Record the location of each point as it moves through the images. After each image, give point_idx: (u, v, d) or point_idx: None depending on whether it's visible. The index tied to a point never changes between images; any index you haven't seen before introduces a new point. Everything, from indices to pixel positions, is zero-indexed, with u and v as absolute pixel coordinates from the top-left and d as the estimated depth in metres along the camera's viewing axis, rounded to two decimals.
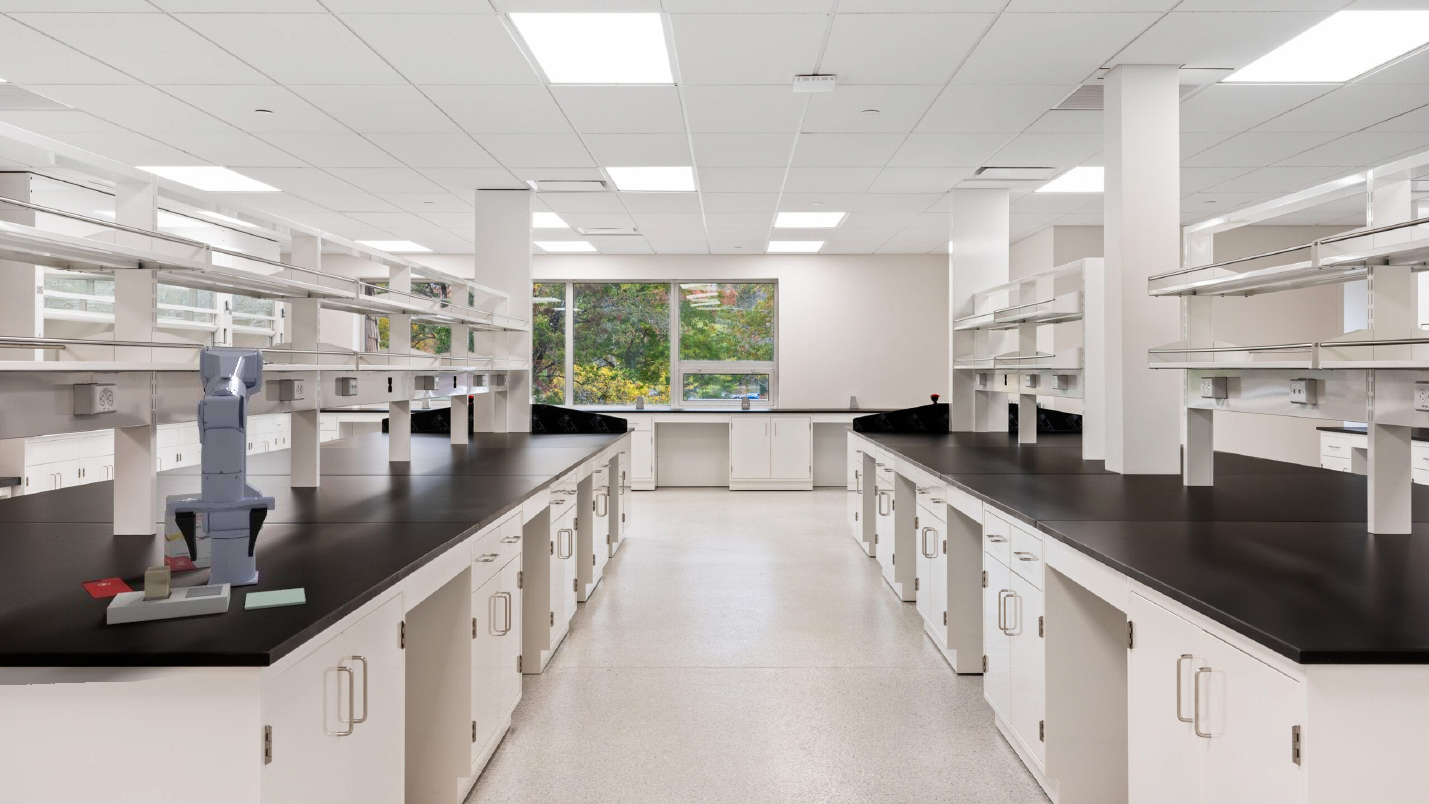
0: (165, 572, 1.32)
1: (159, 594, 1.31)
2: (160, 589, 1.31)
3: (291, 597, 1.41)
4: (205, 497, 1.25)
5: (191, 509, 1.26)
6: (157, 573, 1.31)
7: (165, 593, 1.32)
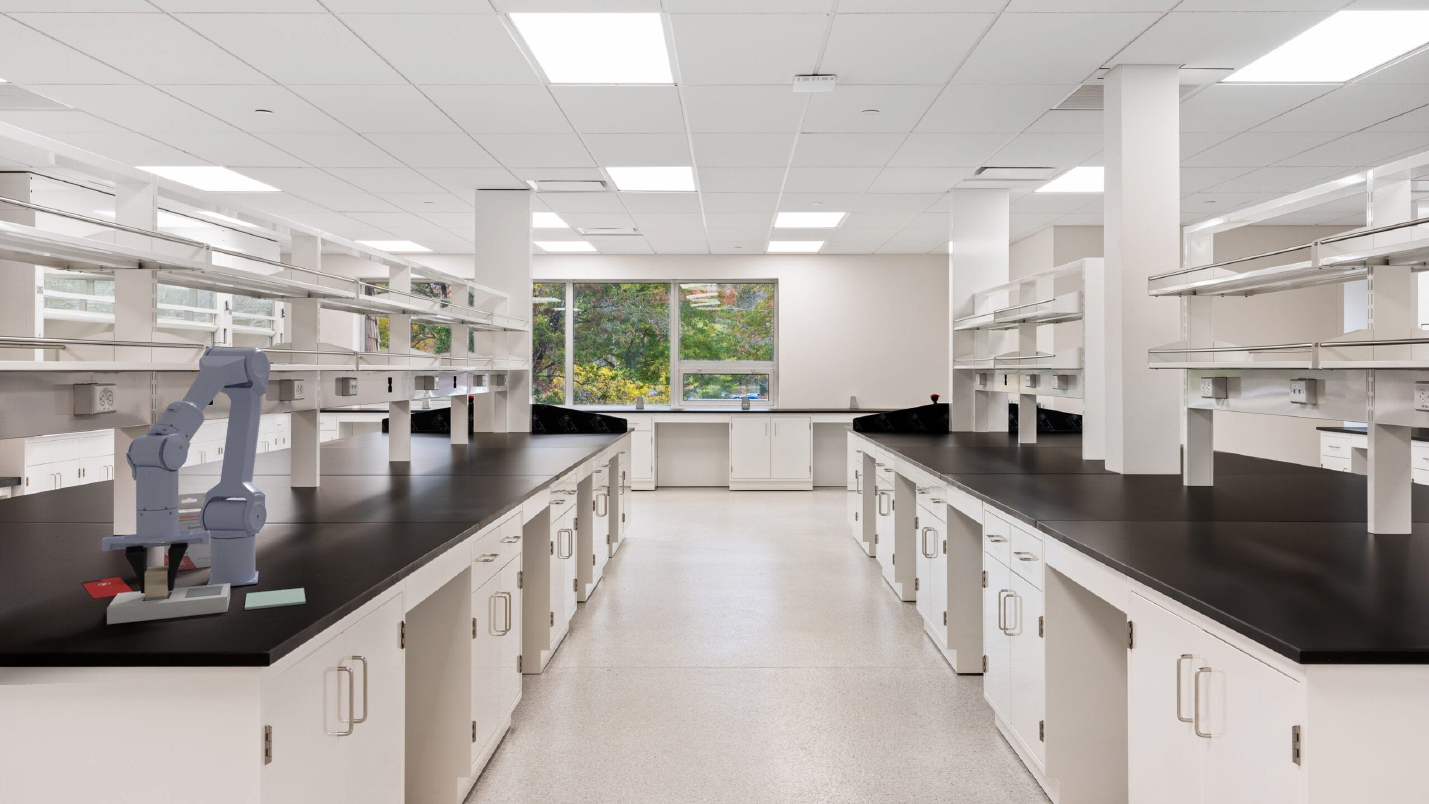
0: (165, 572, 1.32)
1: (159, 594, 1.31)
2: (160, 588, 1.31)
3: (291, 597, 1.41)
4: (139, 533, 1.30)
5: (126, 544, 1.31)
6: (157, 573, 1.31)
7: (165, 593, 1.32)
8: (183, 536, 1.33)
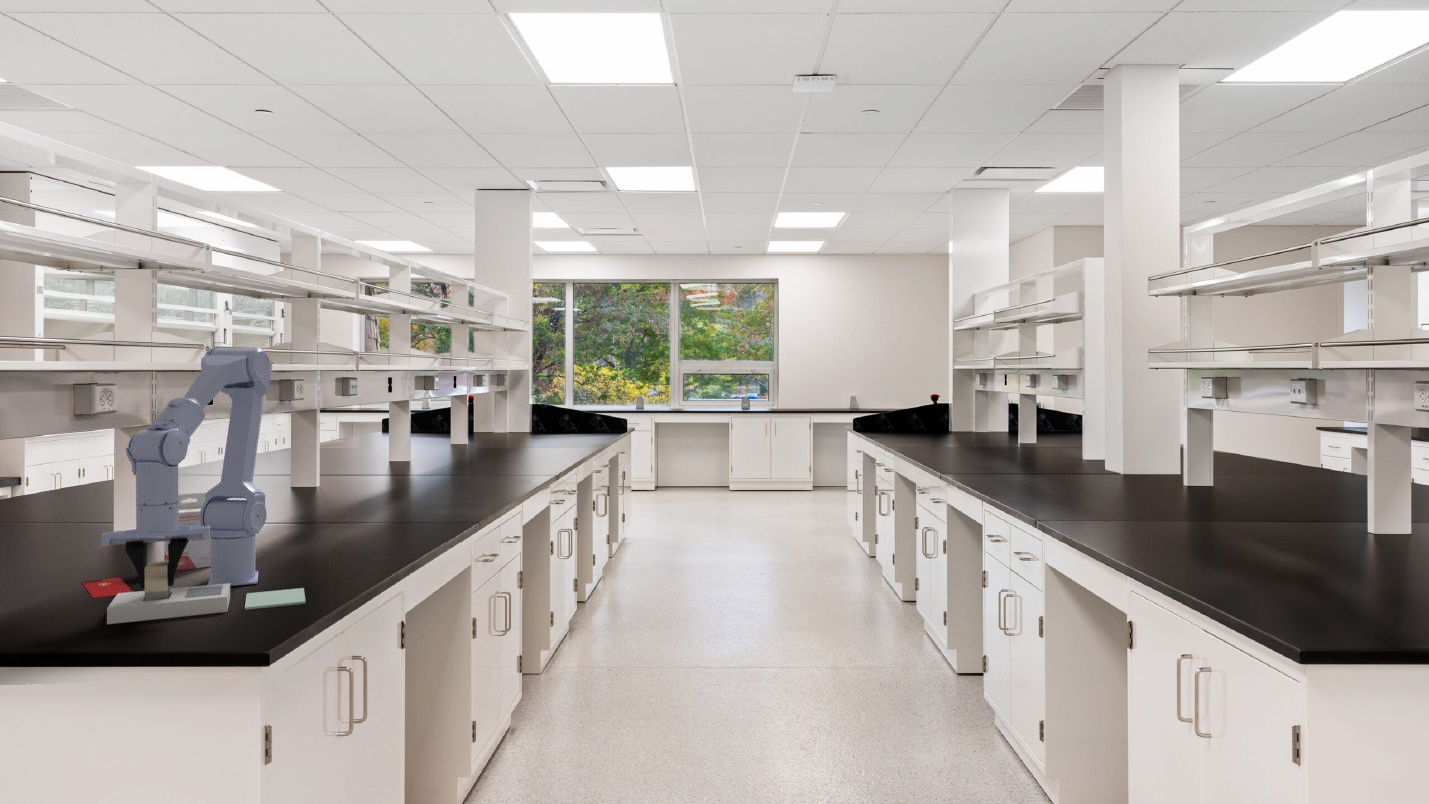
0: (165, 567, 1.31)
1: (159, 589, 1.31)
2: (160, 584, 1.31)
3: (291, 597, 1.41)
4: (139, 528, 1.30)
5: (126, 539, 1.31)
6: (157, 568, 1.31)
7: (165, 588, 1.32)
8: (183, 531, 1.33)
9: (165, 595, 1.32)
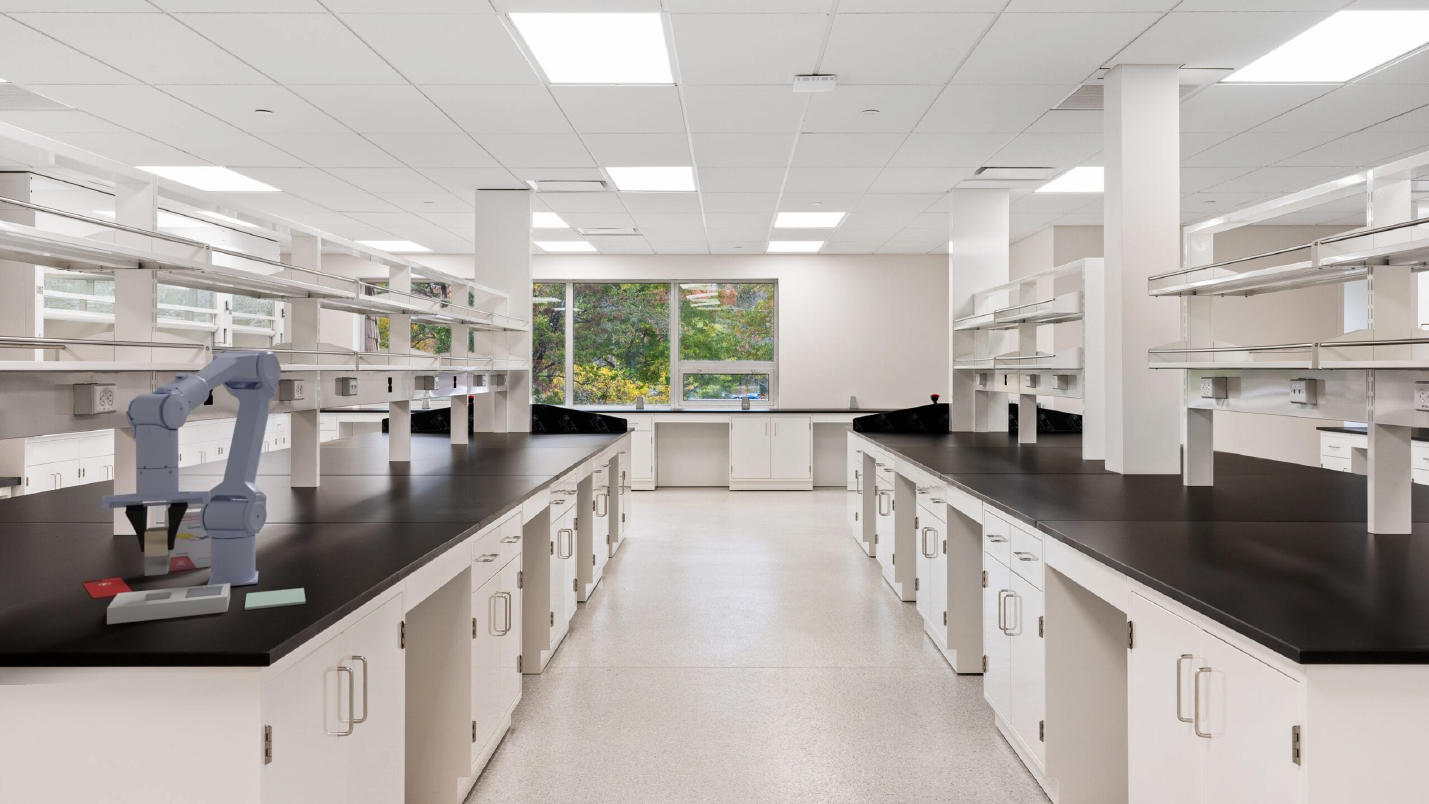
0: (165, 532, 1.31)
1: (159, 554, 1.31)
2: (160, 548, 1.31)
3: (291, 597, 1.41)
4: (139, 491, 1.30)
5: (126, 503, 1.31)
6: (157, 533, 1.31)
7: (165, 553, 1.31)
8: (183, 495, 1.33)
9: (165, 560, 1.31)
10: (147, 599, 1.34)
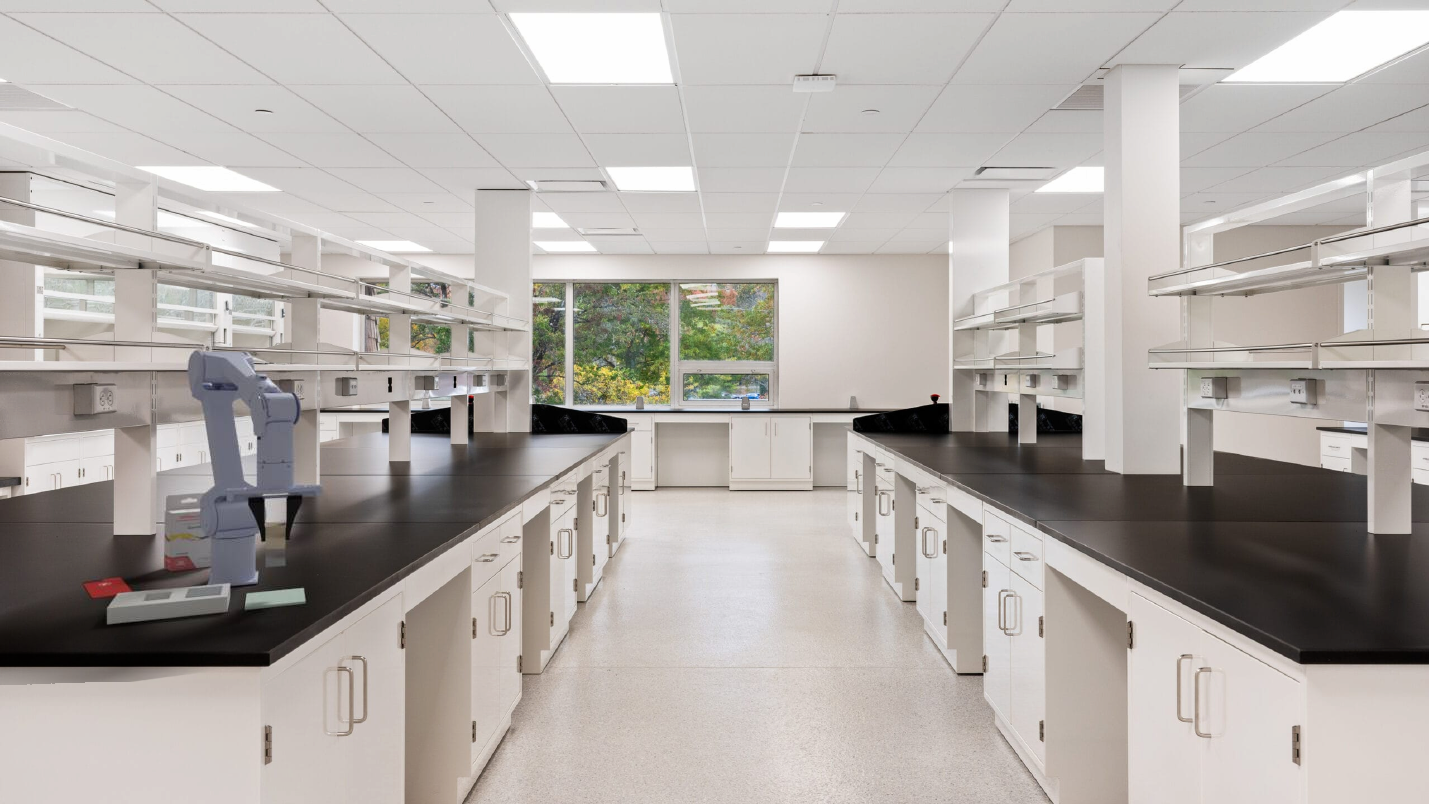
0: (284, 526, 1.40)
1: (278, 547, 1.40)
2: (279, 541, 1.40)
3: (291, 597, 1.41)
4: (260, 484, 1.38)
5: (248, 495, 1.39)
6: (276, 527, 1.39)
7: (283, 546, 1.40)
8: (299, 488, 1.41)
9: (283, 552, 1.40)
10: (147, 599, 1.34)
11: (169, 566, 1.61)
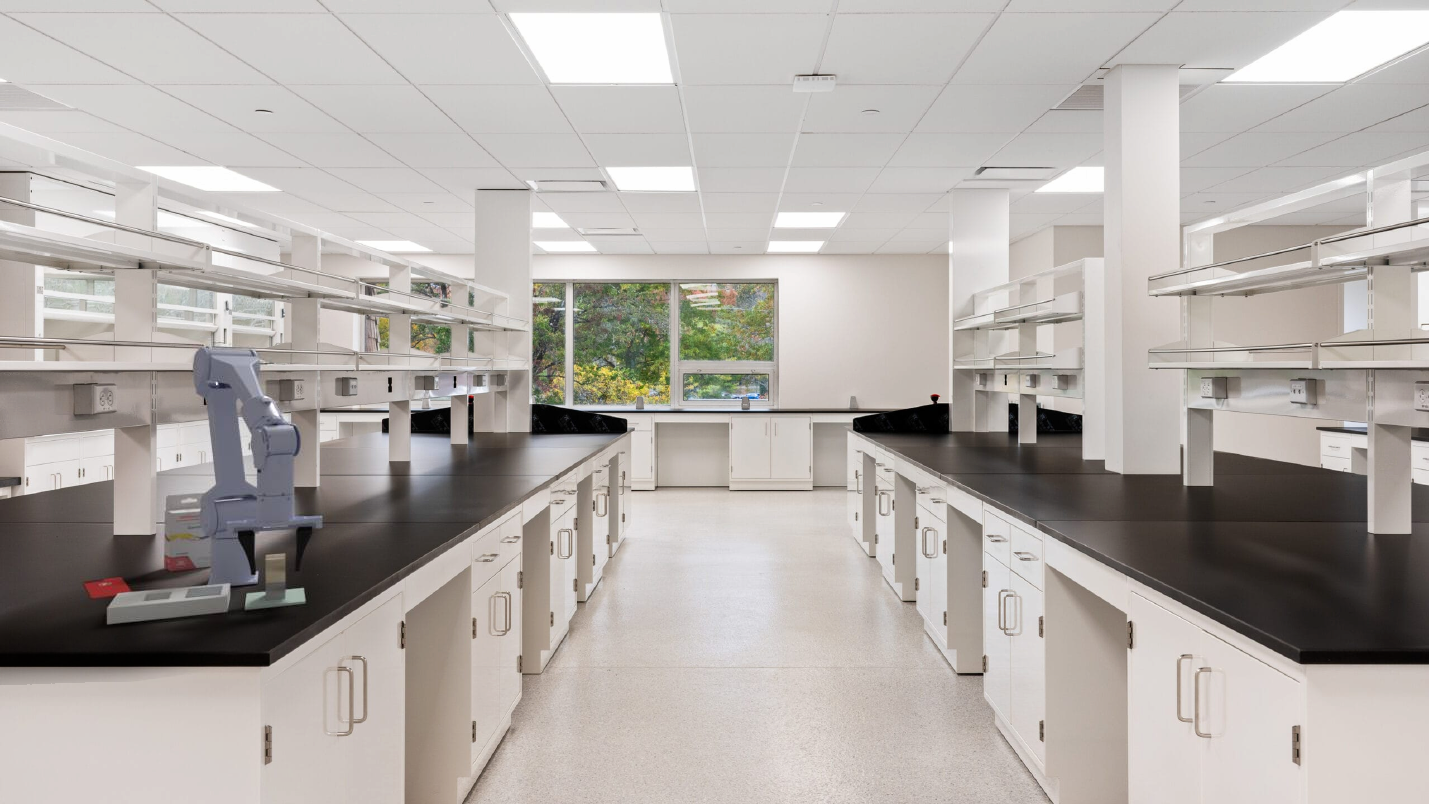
0: (284, 559, 1.40)
1: (278, 580, 1.40)
2: (279, 575, 1.40)
3: (291, 597, 1.41)
4: (261, 517, 1.38)
5: (248, 528, 1.39)
6: (277, 560, 1.40)
7: (284, 579, 1.40)
8: (300, 520, 1.41)
9: (284, 585, 1.40)
10: (147, 599, 1.34)
11: (169, 566, 1.61)
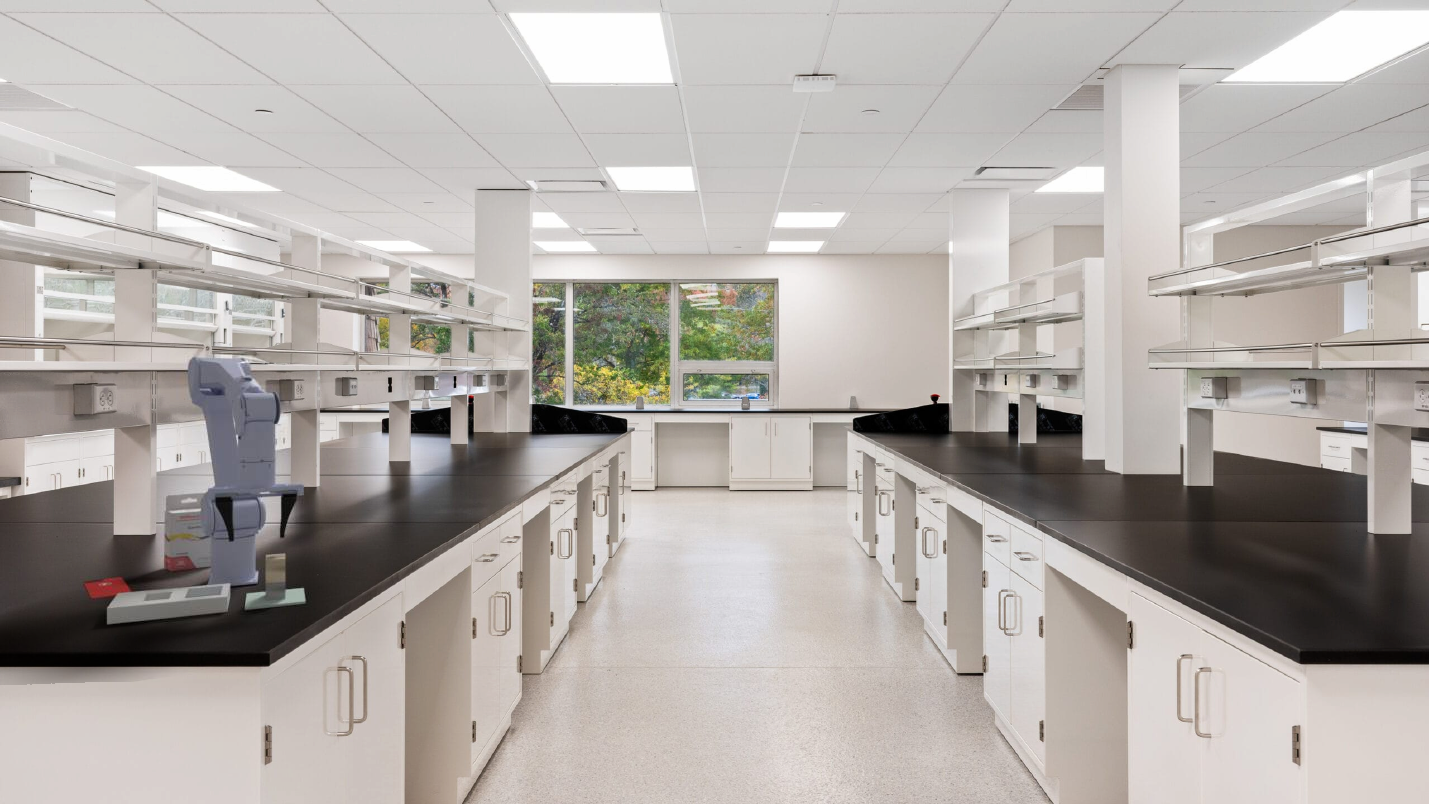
0: (284, 559, 1.40)
1: (278, 580, 1.40)
2: (279, 575, 1.40)
3: (291, 597, 1.41)
4: (242, 483, 1.39)
5: (229, 494, 1.40)
6: (277, 560, 1.40)
7: (284, 579, 1.40)
8: (281, 487, 1.42)
9: (284, 585, 1.40)
10: (147, 599, 1.34)
11: (169, 566, 1.61)
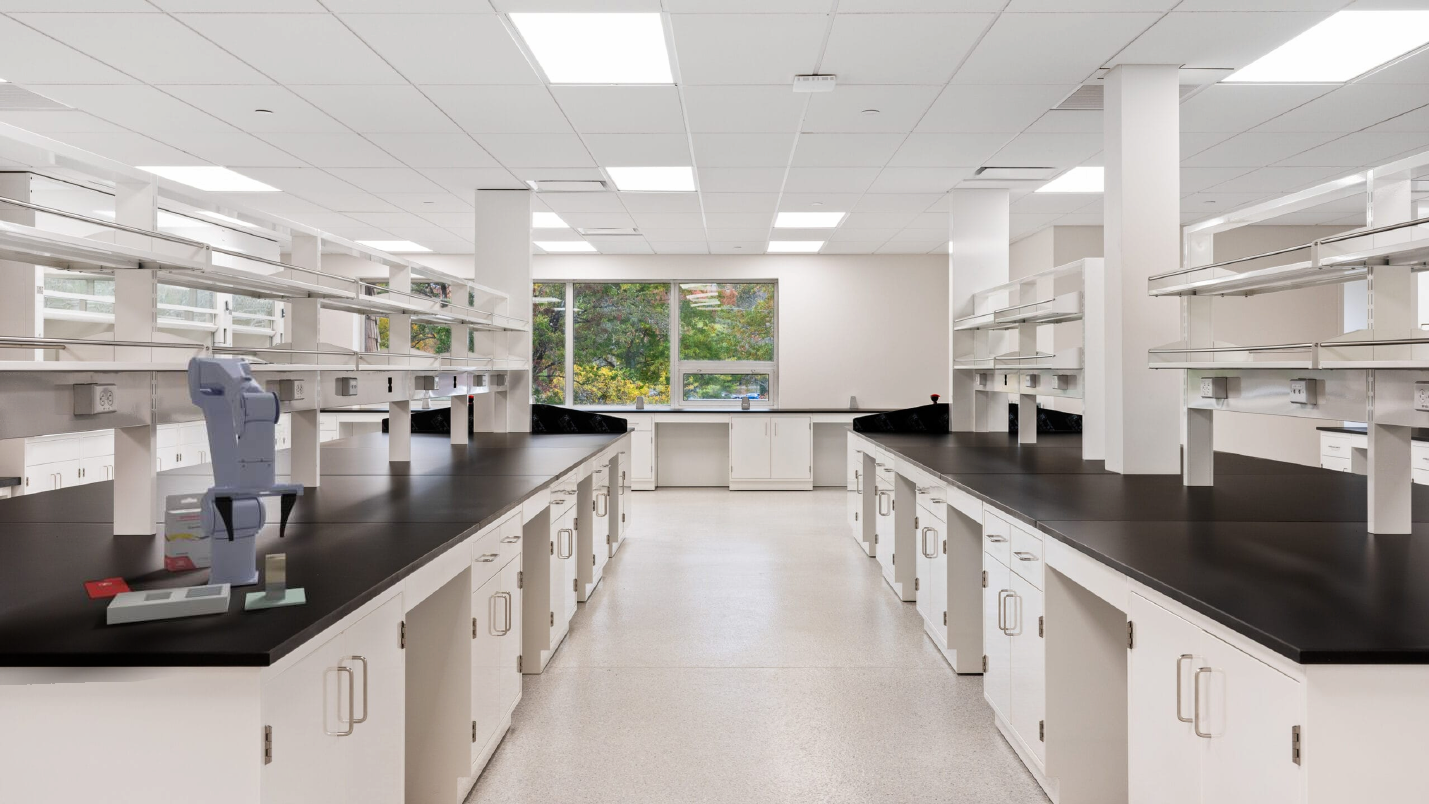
0: (284, 559, 1.40)
1: (278, 580, 1.40)
2: (279, 575, 1.40)
3: (291, 597, 1.41)
4: (241, 483, 1.39)
5: (229, 494, 1.40)
6: (277, 560, 1.40)
7: (284, 579, 1.40)
8: (280, 487, 1.42)
9: (284, 585, 1.40)
10: (147, 599, 1.34)
11: (169, 566, 1.61)
